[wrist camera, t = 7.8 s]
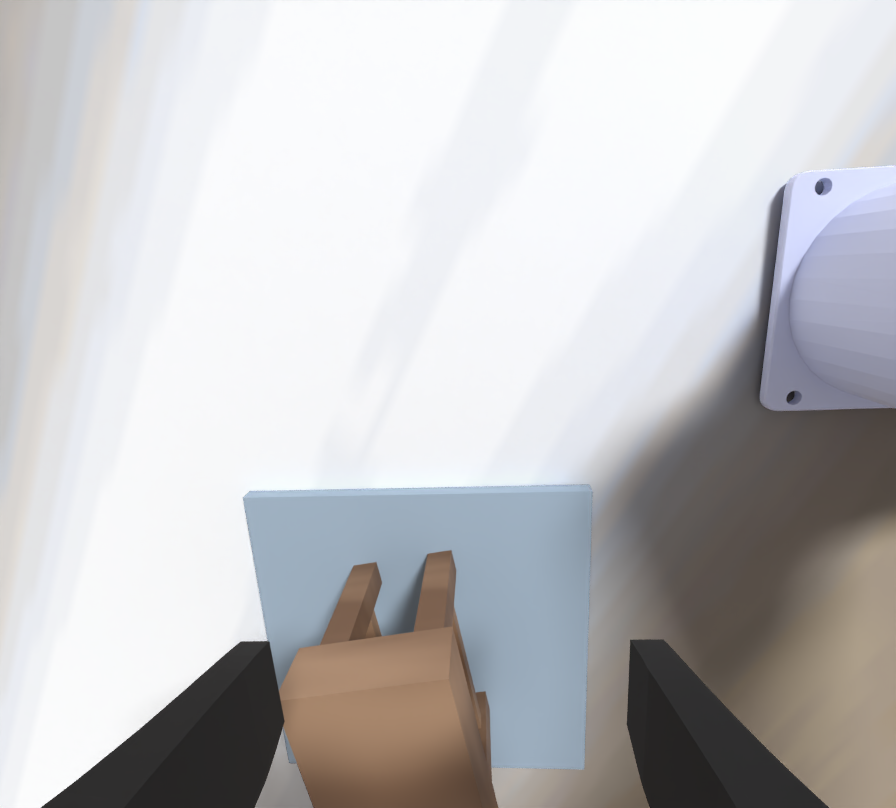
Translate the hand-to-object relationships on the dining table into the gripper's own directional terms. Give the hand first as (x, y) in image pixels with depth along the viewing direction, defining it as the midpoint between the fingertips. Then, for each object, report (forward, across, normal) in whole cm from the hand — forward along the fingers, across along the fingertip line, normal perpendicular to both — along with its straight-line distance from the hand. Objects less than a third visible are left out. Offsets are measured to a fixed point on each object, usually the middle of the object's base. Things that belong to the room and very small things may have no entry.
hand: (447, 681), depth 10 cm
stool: (+10, +2, +8) cm, 12 cm away
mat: (+10, +2, +8) cm, 13 cm away
